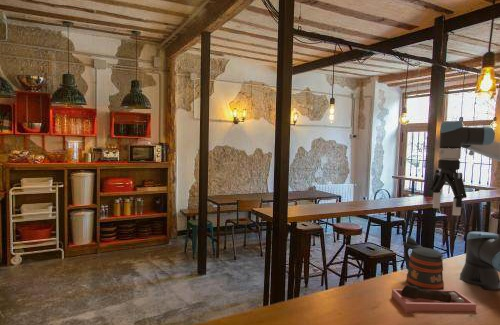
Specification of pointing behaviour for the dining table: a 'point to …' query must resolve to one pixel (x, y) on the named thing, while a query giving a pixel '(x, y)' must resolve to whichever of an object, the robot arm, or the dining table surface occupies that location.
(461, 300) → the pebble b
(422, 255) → the beer stein
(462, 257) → the dining table surface
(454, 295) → the light grey ball
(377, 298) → the dining table surface
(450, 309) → the pink tray
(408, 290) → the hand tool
